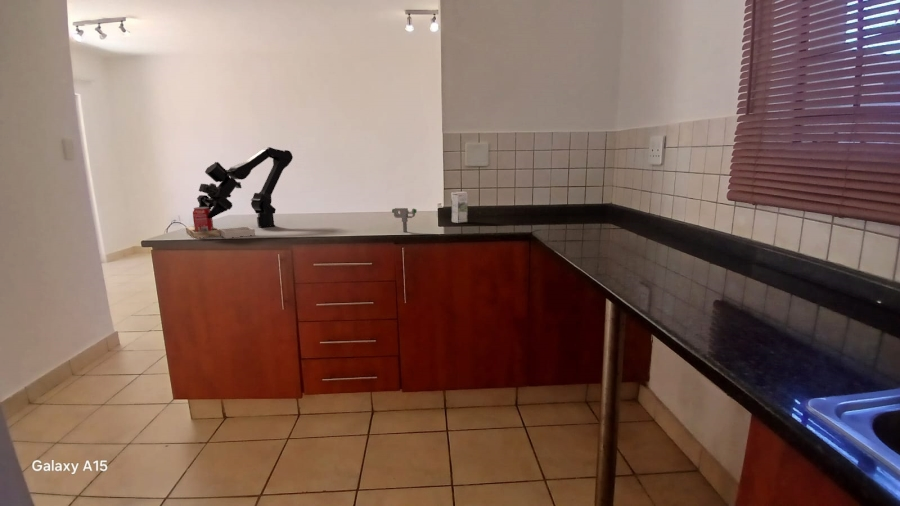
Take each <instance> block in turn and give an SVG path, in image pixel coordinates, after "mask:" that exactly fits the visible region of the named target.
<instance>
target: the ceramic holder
mask: <svg viewBox="0 0 900 506" xmlns="http://www.w3.org/2000/svg"><path fill="white" fill-rule="evenodd" d="M218 230H219V232H220V235H221V237H222V236H223V237H222V238H224V239H232V237H234V238H241V237H240V236H243V237H249V236H250V235H252V236H256V230H255V228H252V227H250V226H237V227H228V228H218ZM250 237H251V236H250Z"/></svg>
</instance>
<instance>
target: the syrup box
mask: <svg viewBox="0 0 900 506" xmlns="http://www.w3.org/2000/svg"><path fill="white" fill-rule="evenodd" d="M450 197H451V199H450V201H451V208H450V209H451V217H450V218H451V222H452V223H455V224H456V223H457V224H462V223H468V220H469V219H468V215H469V213H468V210H469V209H468V201H469V200H468V197H469V196H468V192H467V191H462V190H461V191H452V192H451V196H450Z"/></svg>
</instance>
